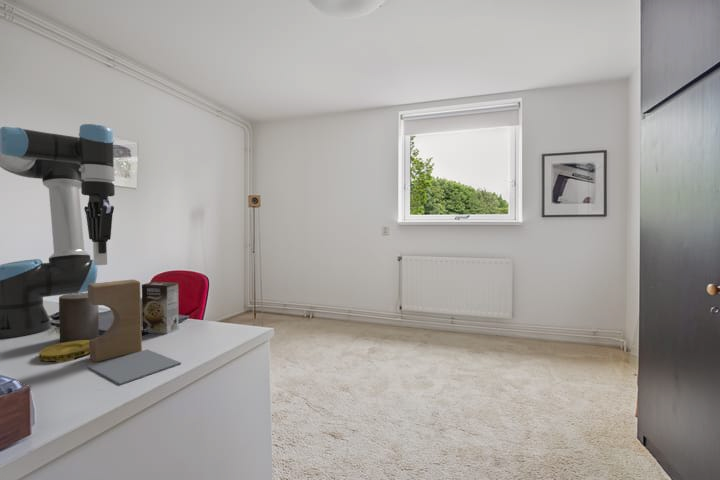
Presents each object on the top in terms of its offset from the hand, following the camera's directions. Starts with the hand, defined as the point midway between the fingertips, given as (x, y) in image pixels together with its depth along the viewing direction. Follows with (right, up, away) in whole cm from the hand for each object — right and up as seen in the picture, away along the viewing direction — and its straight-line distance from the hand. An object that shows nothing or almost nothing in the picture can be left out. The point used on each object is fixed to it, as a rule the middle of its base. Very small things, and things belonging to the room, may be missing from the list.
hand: (100, 264), depth 99 cm
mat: (+17, -25, -11) cm, 32 cm away
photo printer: (-3, -24, +17) cm, 29 cm away
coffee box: (+7, -24, +18) cm, 31 cm away
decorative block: (+7, -25, -3) cm, 26 cm away
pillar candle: (-14, -24, +10) cm, 29 cm away
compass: (-6, -25, -3) cm, 26 cm away
